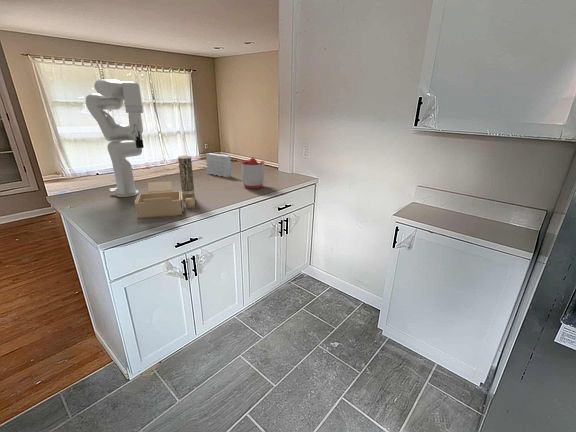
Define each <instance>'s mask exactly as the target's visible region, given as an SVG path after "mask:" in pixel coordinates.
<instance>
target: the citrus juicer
mask: <svg viewBox="0 0 576 432" xmlns="http://www.w3.org/2000/svg"><path fill="white" fill-rule="evenodd" d="M240 163H241V164H240V165H241V179H242V184H243V186H244V188H246V189H253V190H257V189H260V188H262V186H263V185H264V180H265V161H264V160H262V161H260V163H259V162H258V161H257V160H256V158H255V157H251V158H250V159H246V160H242V161H241V162H240Z"/></svg>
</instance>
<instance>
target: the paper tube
mask: <svg viewBox="0 0 576 432" xmlns="http://www.w3.org/2000/svg"><path fill="white" fill-rule="evenodd" d="M177 160H178V169H179V177H180V187H181V192H182V196H183V201H185V199H186V198H190V197H192V198H194V199H195V197H196V196H195V195H196V194H195V185H194V176H193V164H192V163H193V162H192V156H191V155H179V156H178V157H177Z"/></svg>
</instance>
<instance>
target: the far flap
mask: <svg viewBox="0 0 576 432" xmlns="http://www.w3.org/2000/svg"><path fill="white" fill-rule="evenodd" d="M147 187H148V188H147V191H148V192H147V193H158V192H173V182H172V181H171V180H170V181H153V182H151V181H150V182H147Z"/></svg>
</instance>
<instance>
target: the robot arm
mask: <svg viewBox="0 0 576 432" xmlns="http://www.w3.org/2000/svg"><path fill="white" fill-rule="evenodd" d="M94 90H95V91H96V92H97V93H90V94H88V95H86V96H85V104H86V107H87V109H88V111H89V113H90V115H91V116H92V117H93V118H94V120H95V121H96V123H97V124H98V126H99V129H100V130H101V133H102V134H103V137H104V139H105V140H106V141H107V142H109V143H107V151H108V154H109V157H110V159H111V164H112V169H113V173H114V178H115V184H116V185H115V186H116V187H115V188H111V187H110V188H109V192H110V193H114V194H115V195H114V196H115V197H118V198H128V197H129V198H130V197H134V196H136V195H137V196H138V195H140V192H139V190H137V189H136V185H135V179H134V173H133V166H132V164H131V162H130V161H129V160H127V158H130V157H132V158H133V157H138V156H141V155H142V152H143V149H144V140H143V136H142V135H143V132H144V126H143V119H142V114H144V109H143V104H142V103H143V102H142V101H143V100H142V95H141V89H140V84H139V83H138V82H135V81H120V80H119V79H109V78H108V79H105V78H104V79H103V78H100V79H97V80H96V81H95V82H94ZM123 103H124V104H123ZM123 105H124V108H125V109H124V110H125V113H126V114H127V115H128V123H129V124H125V123H123V124H122V123H121V124H119V123H116V122H115V119H114V118H113V116H112V115H111V114H110V113H108V112H107V110H108V111H109V110H111V111H112V110H114V111H115V110H120V109H121V108H122V106H123Z"/></svg>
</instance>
